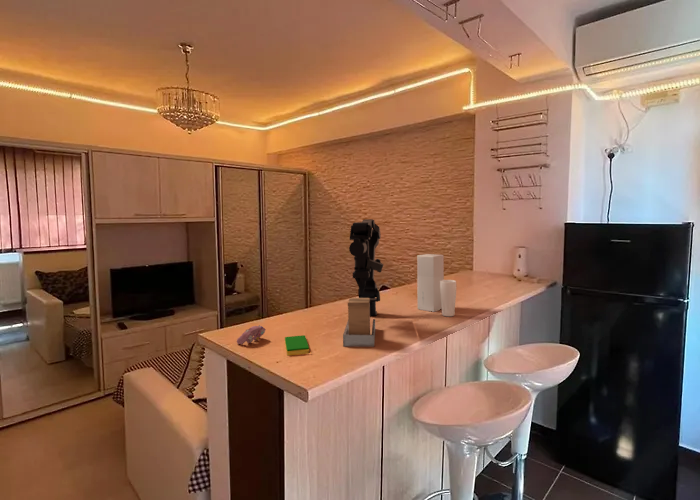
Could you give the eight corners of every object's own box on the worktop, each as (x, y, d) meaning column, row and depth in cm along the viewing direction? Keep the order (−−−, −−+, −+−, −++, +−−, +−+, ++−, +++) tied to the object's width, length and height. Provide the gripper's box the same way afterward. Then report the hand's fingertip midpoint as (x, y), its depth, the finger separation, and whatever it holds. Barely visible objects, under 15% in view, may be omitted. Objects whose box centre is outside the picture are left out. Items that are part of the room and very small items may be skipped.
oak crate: (350, 336, 139) (349, 297, 137) (370, 336, 138) (369, 297, 137) (348, 343, 131) (347, 302, 130) (369, 343, 131) (369, 302, 130)
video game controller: (243, 350, 134) (249, 334, 131) (234, 343, 135) (240, 326, 133) (263, 342, 142) (269, 326, 140) (254, 335, 144) (260, 319, 142)
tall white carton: (417, 309, 180) (416, 255, 178) (427, 305, 186) (427, 253, 184) (434, 312, 174) (433, 256, 172) (444, 308, 180) (443, 254, 178)
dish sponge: (287, 357, 123) (286, 349, 123) (285, 343, 137) (284, 336, 137) (309, 354, 125) (309, 347, 125) (305, 341, 138) (304, 334, 138)
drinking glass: (456, 317, 164) (456, 282, 162) (440, 317, 165) (440, 282, 164) (455, 313, 170) (455, 279, 169) (439, 313, 172) (439, 279, 170)
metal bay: (348, 330, 148) (348, 319, 148) (375, 331, 147) (375, 319, 147) (343, 348, 128) (342, 335, 128) (374, 348, 128) (373, 335, 127)
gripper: (381, 255, 144) (382, 297, 146) (382, 251, 163) (382, 288, 164) (352, 256, 145) (353, 297, 147) (355, 251, 164) (356, 288, 165)
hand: (362, 292), depth 156 cm, fingers closed
